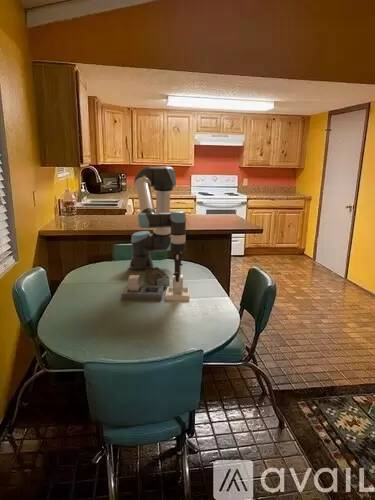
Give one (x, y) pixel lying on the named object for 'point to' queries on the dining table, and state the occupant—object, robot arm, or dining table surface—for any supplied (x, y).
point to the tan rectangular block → (178, 290)
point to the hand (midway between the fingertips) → (177, 282)
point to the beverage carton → (157, 277)
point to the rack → (144, 293)
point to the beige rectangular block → (134, 283)
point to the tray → (170, 295)
